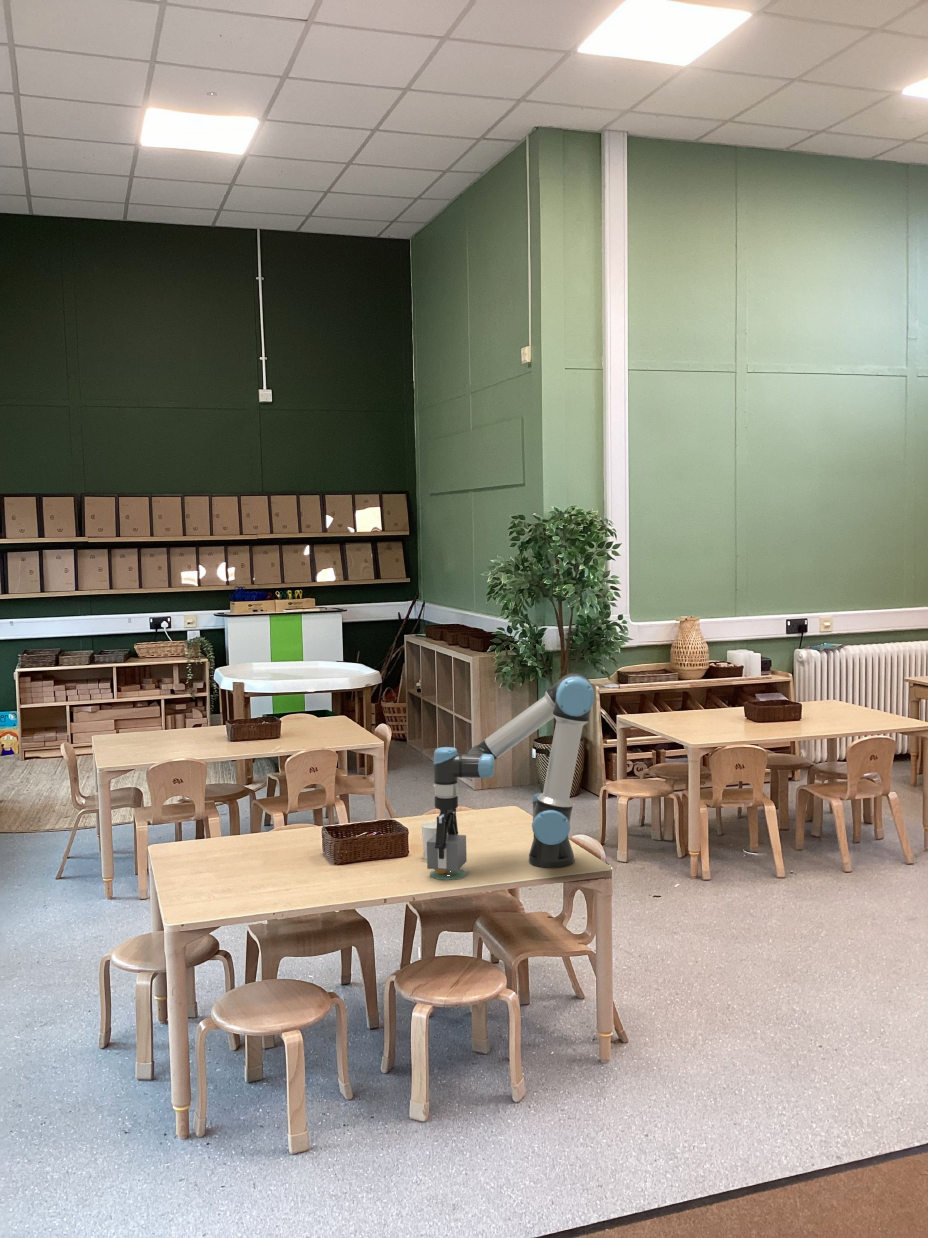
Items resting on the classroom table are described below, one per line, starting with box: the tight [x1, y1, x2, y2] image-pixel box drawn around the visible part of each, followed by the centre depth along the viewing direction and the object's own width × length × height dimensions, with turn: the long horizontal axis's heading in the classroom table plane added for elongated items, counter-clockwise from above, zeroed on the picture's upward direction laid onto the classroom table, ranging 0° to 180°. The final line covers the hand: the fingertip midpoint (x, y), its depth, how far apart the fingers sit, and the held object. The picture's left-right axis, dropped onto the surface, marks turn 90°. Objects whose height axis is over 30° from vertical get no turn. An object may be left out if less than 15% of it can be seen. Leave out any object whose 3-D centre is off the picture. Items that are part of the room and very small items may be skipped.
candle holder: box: [421, 820, 448, 862], centre depth 367 cm, size 10×10×12 cm
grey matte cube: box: [426, 834, 467, 871], centre depth 350 cm, size 10×10×9 cm
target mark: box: [429, 868, 468, 881], centre depth 350 cm, size 12×12×1 cm
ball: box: [434, 869, 448, 874], centre depth 350 cm, size 5×5×5 cm
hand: (447, 863), depth 350 cm, fingers closed on grey matte cube, 10 cm apart
